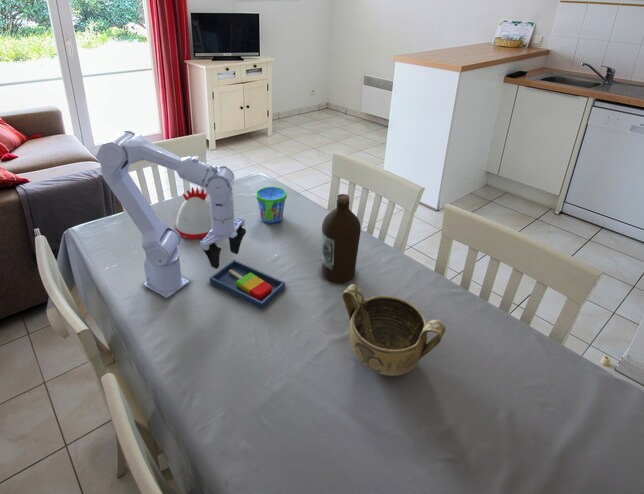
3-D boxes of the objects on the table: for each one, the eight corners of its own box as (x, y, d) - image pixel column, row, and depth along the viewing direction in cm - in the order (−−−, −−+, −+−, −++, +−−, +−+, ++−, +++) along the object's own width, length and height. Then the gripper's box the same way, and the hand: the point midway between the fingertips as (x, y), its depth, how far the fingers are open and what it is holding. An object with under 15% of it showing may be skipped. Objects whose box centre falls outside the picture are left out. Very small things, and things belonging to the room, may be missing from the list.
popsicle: (259, 302, 111) (258, 296, 110) (222, 277, 120) (221, 271, 120) (274, 292, 115) (274, 286, 114) (237, 268, 124) (236, 263, 123)
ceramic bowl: (446, 358, 96) (457, 305, 90) (418, 415, 83) (429, 357, 78) (358, 315, 108) (362, 266, 102) (321, 359, 95) (324, 306, 89)
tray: (209, 283, 118) (209, 277, 118) (234, 265, 126) (234, 259, 126) (262, 310, 109) (262, 303, 109) (285, 288, 117) (285, 282, 116)
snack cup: (262, 206, 159) (262, 182, 155) (290, 209, 158) (290, 184, 154) (251, 228, 145) (250, 201, 141) (281, 231, 143) (281, 205, 140)
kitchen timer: (214, 239, 139) (211, 198, 133) (171, 238, 139) (167, 197, 133) (221, 217, 152) (219, 179, 146) (182, 216, 152) (179, 178, 146)
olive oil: (345, 259, 130) (350, 185, 120) (363, 280, 121) (371, 201, 111) (313, 267, 126) (316, 191, 116) (330, 289, 117) (334, 209, 107)
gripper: (214, 232, 100) (217, 279, 105) (252, 207, 111) (254, 251, 117) (192, 223, 104) (196, 269, 109) (232, 200, 115) (234, 243, 120)
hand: (225, 259), depth 113 cm, fingers open, 7 cm apart
